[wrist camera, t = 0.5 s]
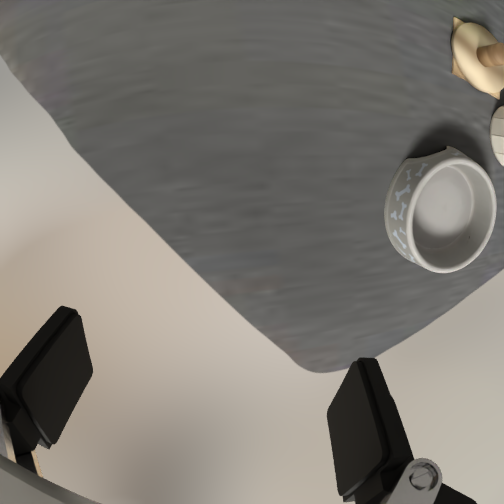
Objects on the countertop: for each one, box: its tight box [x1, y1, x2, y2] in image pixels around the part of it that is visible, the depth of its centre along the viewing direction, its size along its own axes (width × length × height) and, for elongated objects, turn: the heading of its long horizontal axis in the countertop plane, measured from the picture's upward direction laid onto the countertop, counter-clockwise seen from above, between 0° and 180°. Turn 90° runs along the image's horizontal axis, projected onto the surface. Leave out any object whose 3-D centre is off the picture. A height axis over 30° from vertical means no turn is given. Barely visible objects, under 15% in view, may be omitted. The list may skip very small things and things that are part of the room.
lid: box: [451, 23, 504, 93], centre depth 24 cm, size 11×11×6 cm
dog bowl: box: [384, 146, 496, 273], centre depth 34 cm, size 17×18×5 cm
